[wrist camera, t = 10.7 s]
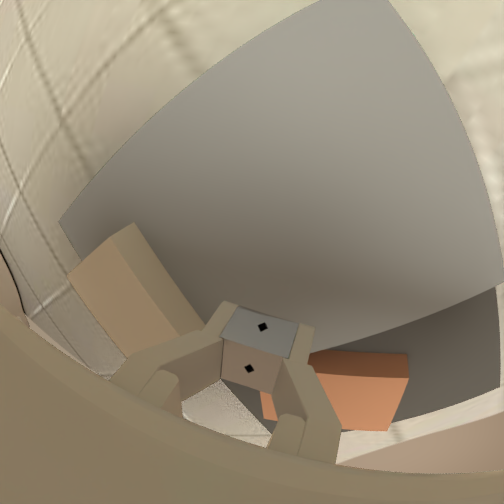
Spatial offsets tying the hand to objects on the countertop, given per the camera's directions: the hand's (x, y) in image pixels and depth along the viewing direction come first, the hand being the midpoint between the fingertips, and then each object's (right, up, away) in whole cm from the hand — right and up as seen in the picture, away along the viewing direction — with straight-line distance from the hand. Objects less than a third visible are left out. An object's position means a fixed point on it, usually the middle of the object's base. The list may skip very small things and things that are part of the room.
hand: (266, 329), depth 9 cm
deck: (0, +4, +6) cm, 7 cm away
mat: (+7, -6, +9) cm, 13 cm away
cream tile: (-7, -1, +8) cm, 10 cm away
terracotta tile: (+5, -6, +9) cm, 12 cm away
